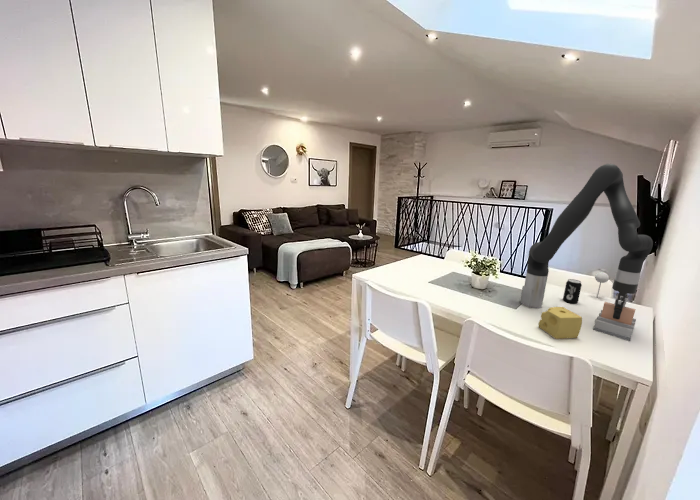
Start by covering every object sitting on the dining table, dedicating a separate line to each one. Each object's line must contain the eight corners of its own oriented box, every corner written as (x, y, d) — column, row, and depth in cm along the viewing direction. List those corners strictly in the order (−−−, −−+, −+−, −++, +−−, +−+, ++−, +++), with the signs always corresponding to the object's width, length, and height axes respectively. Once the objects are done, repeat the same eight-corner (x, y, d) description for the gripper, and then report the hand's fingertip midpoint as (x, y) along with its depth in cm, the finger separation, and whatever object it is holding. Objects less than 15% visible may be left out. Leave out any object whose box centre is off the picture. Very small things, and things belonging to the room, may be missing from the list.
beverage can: (580, 304, 152) (585, 283, 149) (566, 303, 153) (570, 282, 150) (573, 299, 158) (578, 279, 155) (560, 298, 160) (564, 278, 157)
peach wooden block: (629, 332, 123) (635, 310, 121) (599, 323, 130) (604, 303, 128) (629, 330, 125) (635, 309, 122) (599, 321, 132) (605, 301, 130)
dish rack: (630, 341, 118) (632, 331, 117) (592, 329, 127) (595, 320, 126) (633, 327, 129) (636, 318, 128) (599, 317, 138) (601, 309, 137)
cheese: (537, 327, 129) (541, 306, 126) (559, 326, 130) (564, 306, 127) (555, 339, 119) (560, 318, 116) (579, 338, 119) (584, 317, 117)
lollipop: (600, 300, 157) (606, 274, 154) (588, 296, 162) (593, 271, 159) (606, 298, 160) (612, 273, 156) (593, 294, 165) (599, 270, 161)
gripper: (637, 287, 115) (626, 325, 119) (639, 279, 124) (629, 315, 128) (612, 282, 120) (602, 319, 125) (616, 274, 130) (607, 309, 134)
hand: (616, 317), depth 127 cm, fingers open, 3 cm apart
